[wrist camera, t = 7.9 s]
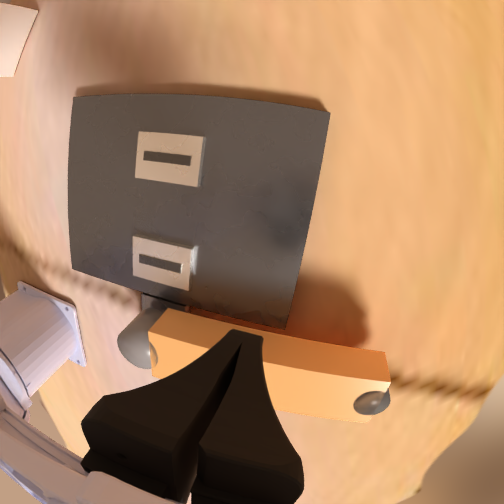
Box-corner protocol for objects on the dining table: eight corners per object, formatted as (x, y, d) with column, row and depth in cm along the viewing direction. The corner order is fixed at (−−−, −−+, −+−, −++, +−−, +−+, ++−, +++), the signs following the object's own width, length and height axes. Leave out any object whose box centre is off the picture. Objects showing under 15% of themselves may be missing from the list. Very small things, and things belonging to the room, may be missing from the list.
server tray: (83, 301, 25) (73, 309, 24) (81, 97, 19) (68, 97, 17) (276, 361, 23) (273, 374, 22) (329, 114, 16) (330, 111, 15)
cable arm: (140, 341, 23) (121, 364, 20) (136, 298, 21) (114, 319, 18) (374, 393, 20) (377, 423, 17) (394, 353, 18) (401, 383, 16)
